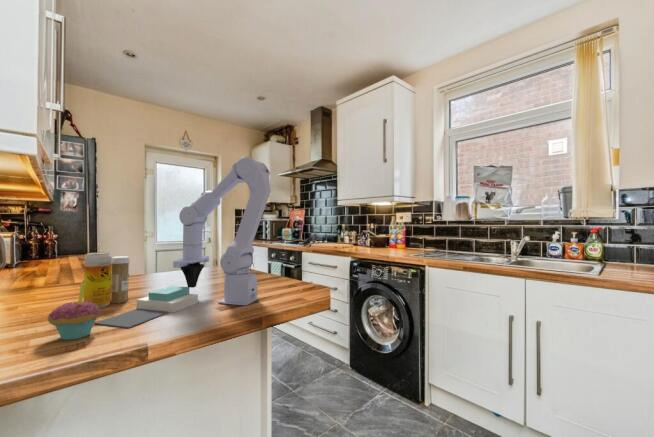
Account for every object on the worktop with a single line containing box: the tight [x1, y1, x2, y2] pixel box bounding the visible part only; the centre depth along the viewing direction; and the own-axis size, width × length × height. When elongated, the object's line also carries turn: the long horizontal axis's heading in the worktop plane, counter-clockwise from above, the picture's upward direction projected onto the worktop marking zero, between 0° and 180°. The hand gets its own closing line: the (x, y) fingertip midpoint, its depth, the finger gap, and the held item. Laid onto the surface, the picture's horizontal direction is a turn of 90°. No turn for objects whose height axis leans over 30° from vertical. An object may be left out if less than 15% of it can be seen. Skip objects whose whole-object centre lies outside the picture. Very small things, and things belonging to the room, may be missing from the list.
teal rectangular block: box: [148, 285, 190, 301], centre depth 86 cm, size 6×9×2 cm, turn 166°
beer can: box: [83, 251, 113, 309], centre depth 84 cm, size 6×6×15 cm
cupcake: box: [47, 279, 101, 341], centre depth 63 cm, size 9×8×12 cm
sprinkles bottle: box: [110, 255, 131, 304], centre depth 89 cm, size 5×5×13 cm
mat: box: [93, 309, 170, 329], centre depth 75 cm, size 10×12×1 cm
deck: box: [135, 293, 199, 314], centre depth 86 cm, size 12×10×2 cm
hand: (191, 287), depth 96 cm, fingers closed
